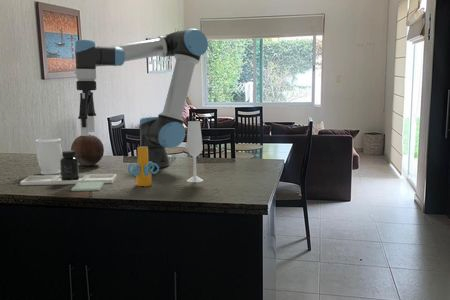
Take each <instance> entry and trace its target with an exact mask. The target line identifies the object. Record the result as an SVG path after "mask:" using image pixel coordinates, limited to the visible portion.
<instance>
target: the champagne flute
mask: <svg viewBox="0 0 450 300" xmlns="http://www.w3.org/2000/svg"><path fill="white" fill-rule="evenodd" d="M201 129H202V127H201V121H199V120H197V121H196V120H191V121H187V133H186V146H185V147H186V149H185V150H186V152H187V154H189V155H190V156H191V157H192V159H193V160H192V168H193V171H192V172H193V174H192V175H193V176H191V177H190V178H188V179H187V180H186V181H187V182H188V183H201V182H203V181H204V179H202V178H200V176H198V175H197V157H198V156H199V155H200V154H201V153H202V152H203V146H204V145H203V137H202V130H201Z"/></svg>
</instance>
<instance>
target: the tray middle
mask: <svg viewBox="0 0 450 300" xmlns="http://www.w3.org/2000/svg"><path fill="white" fill-rule="evenodd" d="M87 176H88V174H79V180H65V181H62V180H61V174H59V175H58V177H56V178H55V179H54V180H53V181H52V184H51V185H52V186H53V185H76V184H77V183H83V180H84V179H85V178H86V177H87Z"/></svg>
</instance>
